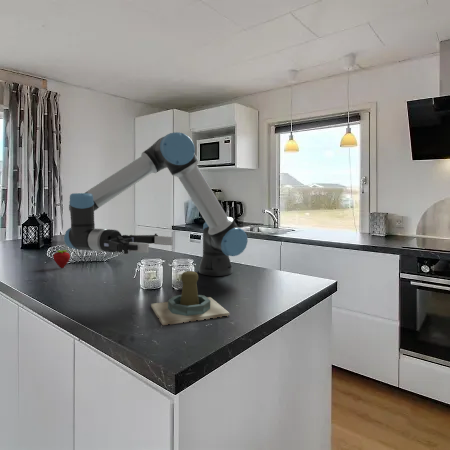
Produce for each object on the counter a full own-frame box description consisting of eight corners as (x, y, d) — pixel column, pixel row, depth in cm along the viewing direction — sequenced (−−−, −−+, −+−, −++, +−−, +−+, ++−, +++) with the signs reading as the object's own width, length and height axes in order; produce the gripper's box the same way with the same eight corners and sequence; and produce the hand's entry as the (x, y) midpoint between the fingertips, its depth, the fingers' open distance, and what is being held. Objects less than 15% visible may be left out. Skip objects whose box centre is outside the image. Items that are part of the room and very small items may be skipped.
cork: (180, 303, 110) (180, 269, 109) (199, 303, 110) (200, 269, 109) (178, 309, 104) (179, 274, 103) (199, 309, 104) (199, 274, 103)
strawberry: (58, 266, 162) (58, 245, 161) (73, 267, 161) (72, 246, 160) (50, 269, 156) (49, 247, 155) (65, 270, 155) (64, 248, 154)
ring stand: (210, 299, 117) (210, 289, 116) (229, 316, 102) (229, 304, 102) (151, 306, 109) (151, 296, 109) (162, 325, 94) (162, 313, 94)
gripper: (130, 245, 127) (180, 249, 119) (77, 258, 104) (136, 264, 96) (129, 225, 126) (180, 227, 118) (76, 234, 103) (135, 238, 95)
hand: (160, 244), depth 107 cm, fingers open, 13 cm apart
